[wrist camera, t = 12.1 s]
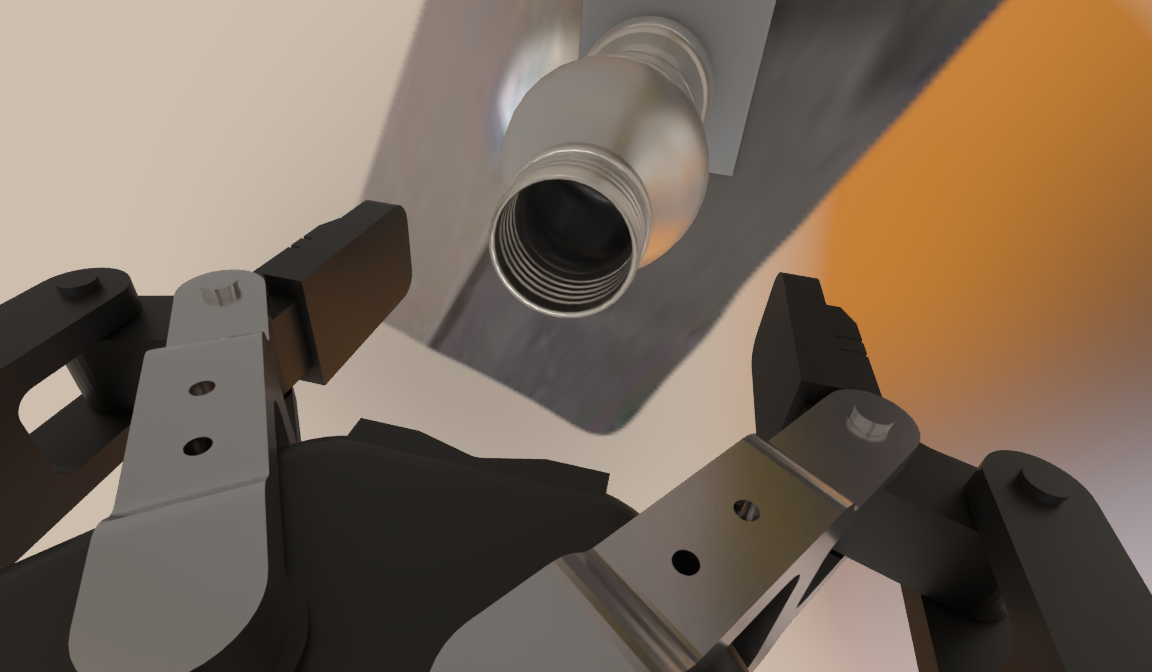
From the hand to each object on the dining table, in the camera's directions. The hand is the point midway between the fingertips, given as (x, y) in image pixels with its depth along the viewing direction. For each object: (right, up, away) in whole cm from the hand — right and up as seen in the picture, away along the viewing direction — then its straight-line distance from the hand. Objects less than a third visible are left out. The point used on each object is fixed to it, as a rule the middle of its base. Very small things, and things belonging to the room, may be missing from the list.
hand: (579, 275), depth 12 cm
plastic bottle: (+4, +12, +17) cm, 21 cm away
